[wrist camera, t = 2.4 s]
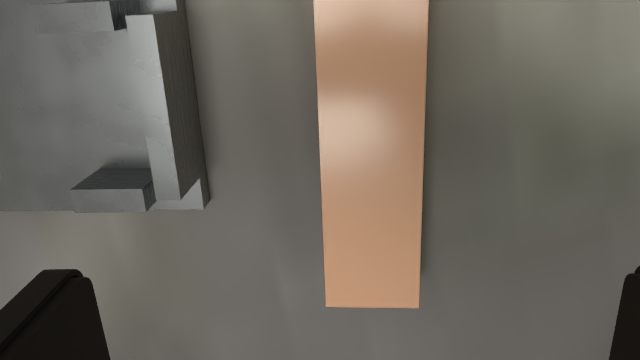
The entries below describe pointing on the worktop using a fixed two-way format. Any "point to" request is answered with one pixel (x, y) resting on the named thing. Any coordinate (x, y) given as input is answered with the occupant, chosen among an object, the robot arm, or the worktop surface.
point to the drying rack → (98, 107)
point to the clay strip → (371, 148)
